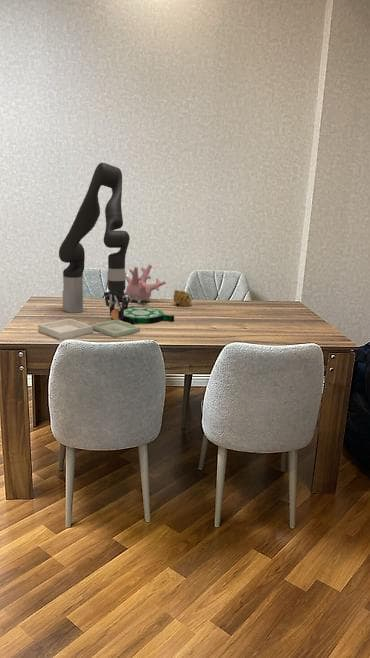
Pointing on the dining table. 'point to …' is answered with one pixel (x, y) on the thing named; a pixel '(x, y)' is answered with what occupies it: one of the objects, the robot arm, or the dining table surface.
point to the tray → (115, 328)
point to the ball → (115, 314)
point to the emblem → (144, 315)
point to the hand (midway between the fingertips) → (116, 317)
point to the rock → (182, 298)
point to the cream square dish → (65, 329)
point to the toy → (141, 285)
